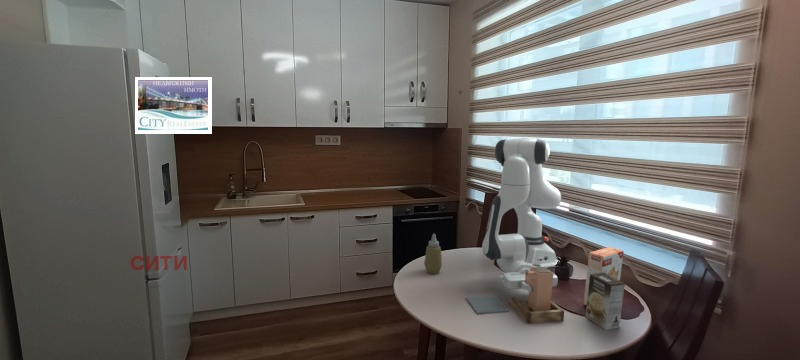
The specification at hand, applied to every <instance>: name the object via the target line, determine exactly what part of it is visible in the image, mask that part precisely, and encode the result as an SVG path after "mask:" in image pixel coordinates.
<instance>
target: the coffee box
mask: <svg viewBox="0 0 800 360" xmlns="http://www.w3.org/2000/svg"><path fill="white" fill-rule="evenodd" d="M625 287H626V286H625V282H624V281H623V280H622V281H621V279H620V280H618V279H616V278H614V277H612V276H610V275H608V274H606V273H604V272H603V273H595V274H590V280H589V290H588V299H587V306H586V311H585V318H587V319H588V318H589V319H588V320H590V321H591V320H592V321H591V322H593V323H594V324H596V325H597V326H599V327H600V328H602V329H604V331H608V330H612V329H613V330H614V329H618V328H620V325H621V317H622V311H623V310H622V309H623V302H624V301H623V300H624V293H625Z"/></svg>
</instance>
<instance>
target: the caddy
mask: <svg viewBox="0 0 800 360" xmlns="http://www.w3.org/2000/svg"><path fill="white" fill-rule="evenodd" d="M508 305H509V306H510V307H511V308H513V310H514V311H515V312H516V313H517V314H518V315H519V316H520V317H521V318H522V319H523V321H525V322H526V323H527V324H535V323H537V324H539V323H549V322H563V321H564V319H565V310H564V309H562V308H561V307H560V306H559V305H558V304H556V303H555V302H554V301H553V300H551V309H550V310H547V311H534V310H533V309H532V308H531V307H530V306H528V301H523V302H522V301H521V302H520V301H519V300H518V299H517V298H516V297H515V296H511V297H510V302H509V303H508Z"/></svg>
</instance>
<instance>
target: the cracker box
mask: <svg viewBox="0 0 800 360" xmlns="http://www.w3.org/2000/svg"><path fill="white" fill-rule="evenodd" d="M624 253H625V252H624V250H621V249H618V248H614V247H611V246H608V247H604V248H601V249H598V250H594V251H590V252H589V253H588V259H587V261H588V262H587V268H586V269H587V270H586V280H585V285H584V287H585V288H584V295H583V296H584V297H583V305H584V306H586V305H587V299H588V290H589V280H590V274H595V273H603V272H604V273H606V274H608V275H610V276H612V277H614V278H616V279H618V280H620V281H621V274H622V273H621V272H622V267H623V266H622V265H623V258H624Z"/></svg>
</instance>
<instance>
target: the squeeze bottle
mask: <svg viewBox="0 0 800 360" xmlns="http://www.w3.org/2000/svg"><path fill="white" fill-rule="evenodd" d="M424 267H425V271H426V273H427V274H430V275H437V274H439V273H440V271H441V269H442V267H443V259H442V248H441V246H440V242H439V240H437V236H436V233H432V235H431V240H429V241H428V245H427V246H426V249H425V256H424Z"/></svg>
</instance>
